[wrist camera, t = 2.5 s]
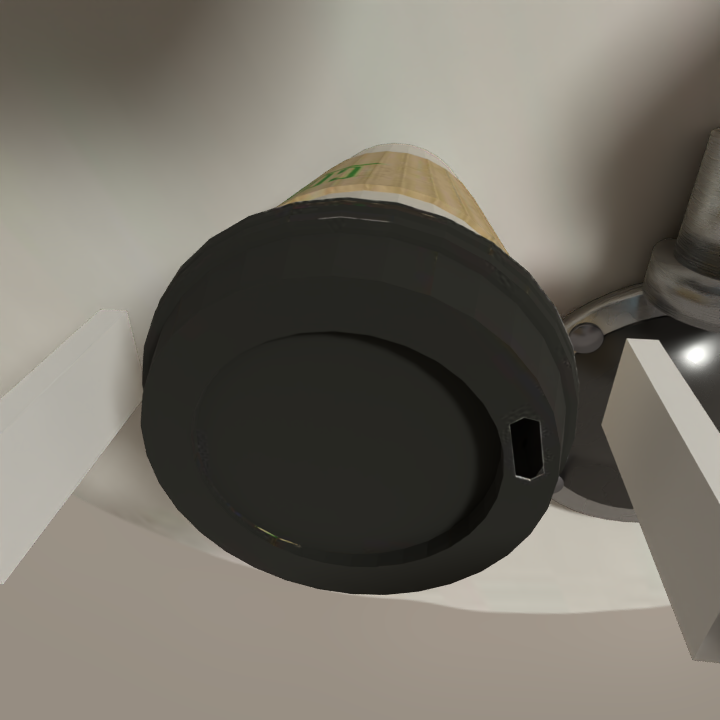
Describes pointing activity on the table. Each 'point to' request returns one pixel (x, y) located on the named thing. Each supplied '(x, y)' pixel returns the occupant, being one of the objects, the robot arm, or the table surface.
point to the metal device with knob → (653, 322)
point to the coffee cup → (361, 384)
